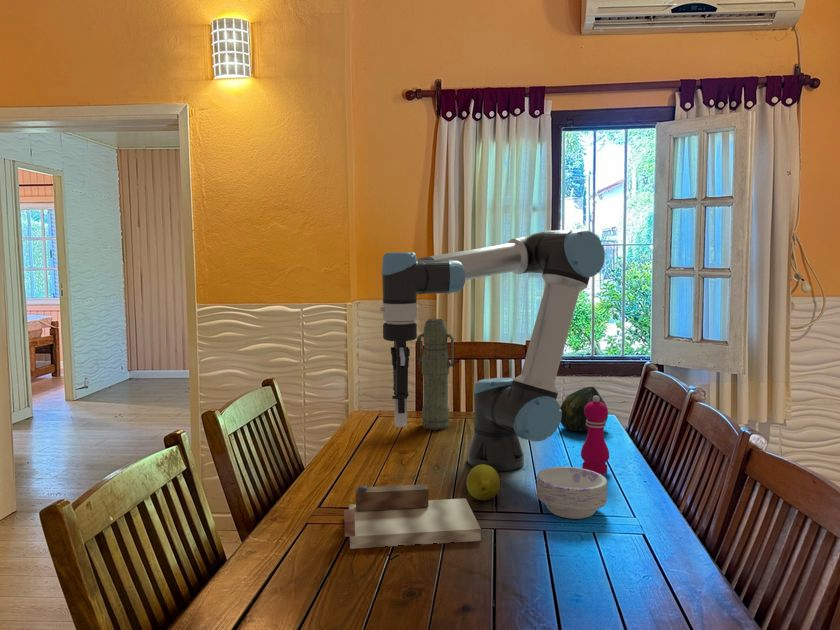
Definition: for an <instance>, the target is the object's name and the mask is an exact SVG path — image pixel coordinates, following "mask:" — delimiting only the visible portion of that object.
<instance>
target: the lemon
mask: <svg viewBox="0 0 840 630" xmlns="http://www.w3.org/2000/svg"><path fill="white" fill-rule="evenodd" d="M465 480H466V482H465V483H466V488H467V490H468V493H469V494H470V496H471V497H472V498H474V499H475V500H478V501H488V500H491V499H493V498H495V497H496V496H497V494H498V493H499V491H500V488H501V483H500V482H501V481H500V476H499V474H498V471H496V470H495V469H494V468H493V467H491V466H489V465H485V464H481V465H477V466H475V467H472V468H471V469H470V470H469V473H468V474H467V476H466V479H465Z"/></svg>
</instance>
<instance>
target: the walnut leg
mask: <svg viewBox="0 0 840 630" xmlns="http://www.w3.org/2000/svg"><path fill="white" fill-rule="evenodd" d="M428 500H429V487H428V484H426V483H425V484H424V483H421V484H405V485H404V484H401V485H386V486H385V485H384V486H382V485H381V486H367V485H358V486H357V487H355V504H356V511H367V510H385V509H404V508H422V507H429V503H428Z"/></svg>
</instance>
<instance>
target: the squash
mask: <svg viewBox="0 0 840 630" xmlns="http://www.w3.org/2000/svg"><path fill="white" fill-rule="evenodd" d="M594 396H599V398H600V401H599V402H602V403H604V404H605V405H606V402H605V401H604V399H603V397H602V396H601V395H600V394H599V391H598V390H597V388H595V386H587V387H583V388H581V389H578V390H576V391H574V392H572V393H569V394H568V395H567V396H566V397H565V398H564V400H563V401H562V403H561V405H560V409H561V411H562V417H561V422H560V424H561V426H562V427H563V428H565V429H566V430H568V431H572V432H579V431H581V432H586V431H587V432H588V427H587V425H586V419H587V417H586V416H585V414H584V408H585V406H586V404H588V403H589V402H592V401H593V397H594ZM606 407H607V408H608V405H606ZM608 417H609V414H608V415H607V417H606V418H605V421H606V423H607V420H608ZM606 423H605V424H606Z"/></svg>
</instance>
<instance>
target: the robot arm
mask: <svg viewBox="0 0 840 630" xmlns="http://www.w3.org/2000/svg"><path fill="white" fill-rule="evenodd" d="M605 255H606V254H605V248H604V245H603V244H602V241H601V239H600V238H599V237H598V235H597V234H596V233H594V232H593V231H591V230H588V229H579V228H573V229H559V230H558V229H557V230H556V229H555V230H552V229H551V230H549V229H548V230H543V231H540V232H536V233H531V234H529V235H524V236H520V237H519V236H518V237H514V238H511V239H509V240H508V242H507V243H503V244H496V245H491V246H490V245H489V246H484V247H478V248H472V249H467V250H460V251H454V252H448V253H442V254H441V253H440V254H436V255H429V256H426V257H424V256H423V257H419V258H417V254H416V253H415V252H414V251H412V252H411V251H406V252H405V251H403V252H401V251H400V252H398V251H396V252H393V251H392V252H386V253H384V254H383V257H382V263H381V275H382V276H381V279H382V306H381V307H380V308H379V311H380V312H382V320H383V321H385V322H383V324H382V339H384V340H385V341H387V342H393V347H392V346H391V347H390V355H391V366H392V375H393V377H392V378H393V379H392V381H393V387H392V390H393V395H391V396H392V397H391V399H392V400H393V407H394V408H393V410H394V411H393V412H394V418H393V419H394V427H395V428H408V398H409V394H410V393H409V389H408V387H409V367H410V365H409V364H410V363H409V362H410V358H409V357H410V354H411V349H410V348H409V346H407V342H409V341H415V340H417V338H418V329H417V328H418V327H417V326H418V325H417V323H416V322H415V321H417V320H418V303H417V296H418V295H427V294H428V295H429V294H431V295H432V294H434V295H435V294H447V295H449V294H451V293H458V292H461V290H462V289H463V288H464V286H465V285H466V281H469V280H475V279H479V278H485V277H489V276H490V277H491V276H495V275H500V274H505V273H506V274H507V273H513V274H516V275H521V274H522V275H523V274H531V273H532V274H541V277H542V279H543V281H544V282H545V287H544V290H543V294H542V297H541V300H540V304H539V308H538V311H537V316H536V318H535V323H534V325H533V330H532V333H531V337H530V341H529V343H528V347H527V350H526V351H527V352H526V354H525V357H524V363H523V366H522V369H521V373H520V374H519V375H517V376H516V377H493V378H484V379H479V380H477V381H476V382H475V384H474V389H473V397H474V399H473V404H474V406H473V408H474V409H473V411H474V413H473V414H474V415H473V417H474V418H473V420H474V421H473V425H474V428H473V431H474V432H473V433H474V434H473V437H472V440H471V443H470V446H469V449H468V452H467V464H468V465H469V466H470V467H472V468H474V467H475V466H477V465H481V464H485V465H489V466H491V467H493V468H494V469H495V470H496V472H509V471H514V470H517V469H520V468H521V467H523V466H524V464H525V463H524V462H525V456H524V451H523V448H522V445H521V443H520V439H522V440H527V441H531V442H535V443H536V442H543V441H545V440H547V439H548V438H550V437H552V436H553V435H554V434H555V433H556V431H557V430H558V428H559V426H560V424H561V417H562V411H561V409H560V407H561V405H560V403H559V402H558V401H557V399H558V395H559V391H558V389H557V386H556V385H555V382H556V379H557V375H558V371H559V367H560V364H561V361H562V356H563V353H564V351H565V346H566V341H567V339H568V335H569V331H570V327H571V324H572V321H573V317H574V315H575V314H574V313H575V309H576V305H577V302H578V298H579V294H580V293H581V291H583V290H585V289H587V288H588V285H589V282H590V278H593V277H595V276H596V275H598V274H599V273H600V272H601V271H602V269H603V266H604V264H605V261H606V260H605V257H606V256H605ZM519 438H520V439H519Z"/></svg>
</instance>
